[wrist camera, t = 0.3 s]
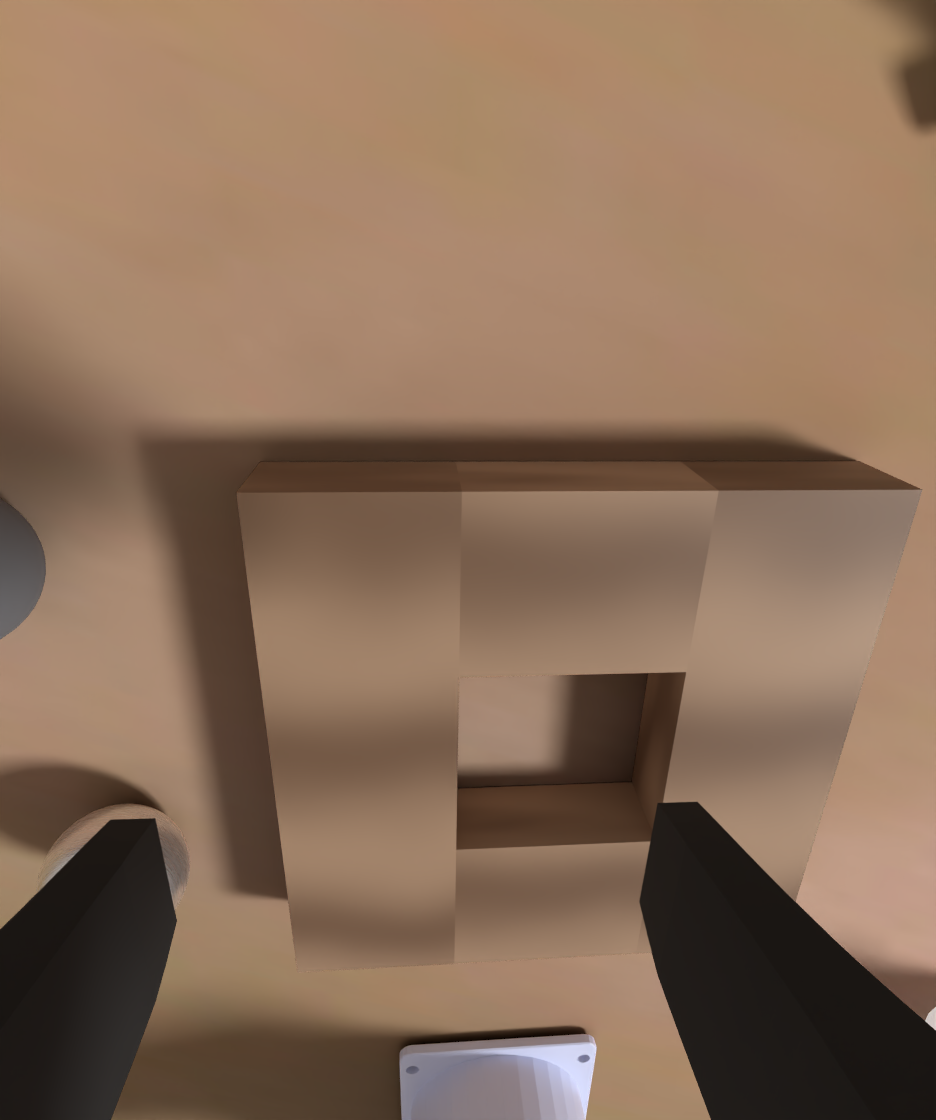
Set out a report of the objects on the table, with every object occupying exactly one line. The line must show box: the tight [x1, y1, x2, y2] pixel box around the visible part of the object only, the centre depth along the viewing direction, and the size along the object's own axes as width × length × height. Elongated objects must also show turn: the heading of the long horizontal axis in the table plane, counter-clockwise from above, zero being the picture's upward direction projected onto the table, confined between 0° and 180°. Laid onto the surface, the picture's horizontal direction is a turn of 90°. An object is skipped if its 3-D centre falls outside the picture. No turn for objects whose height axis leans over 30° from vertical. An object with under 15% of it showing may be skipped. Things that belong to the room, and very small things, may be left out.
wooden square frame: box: [236, 461, 922, 972], centre depth 20 cm, size 16×16×2 cm
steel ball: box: [36, 804, 190, 910], centre depth 20 cm, size 4×4×4 cm
